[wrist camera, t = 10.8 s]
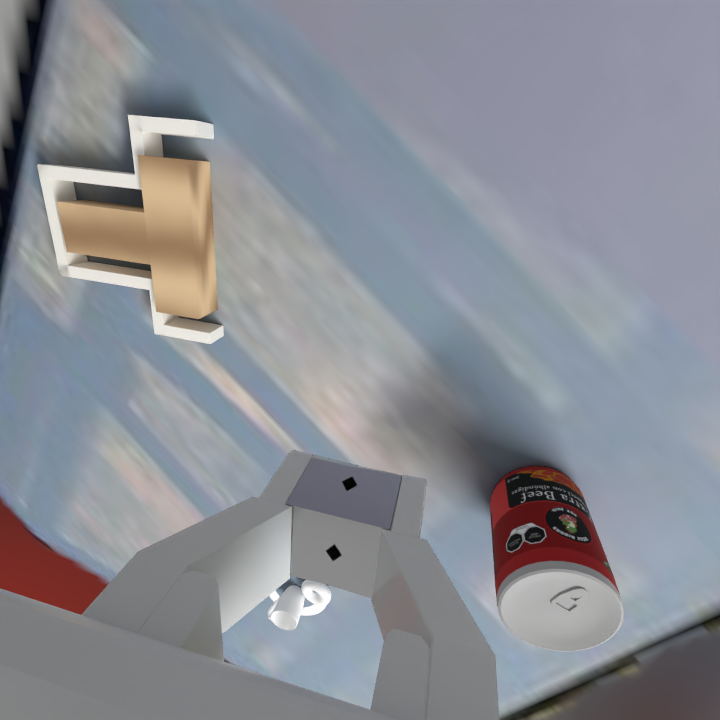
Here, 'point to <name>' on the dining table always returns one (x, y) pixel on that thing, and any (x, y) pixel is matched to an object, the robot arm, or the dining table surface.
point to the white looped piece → (297, 603)
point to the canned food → (551, 563)
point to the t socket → (146, 143)
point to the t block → (156, 233)
